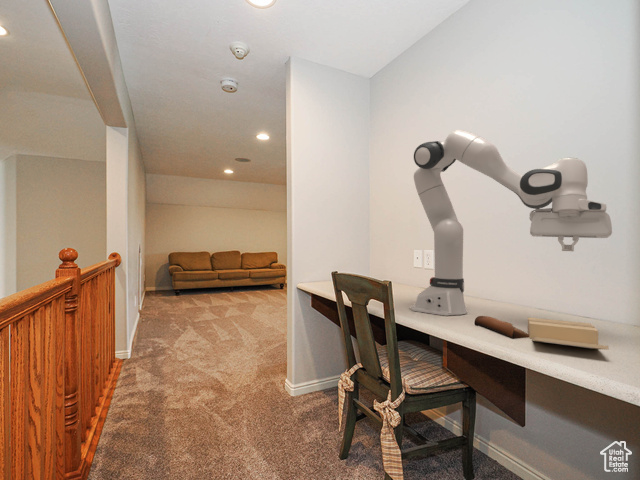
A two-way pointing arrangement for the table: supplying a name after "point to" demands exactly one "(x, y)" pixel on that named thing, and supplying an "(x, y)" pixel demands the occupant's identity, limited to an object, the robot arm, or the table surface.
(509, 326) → the brown tapered cylinder
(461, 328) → the table surface
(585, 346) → the flap
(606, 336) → the table surface
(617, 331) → the table surface
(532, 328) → the carton
